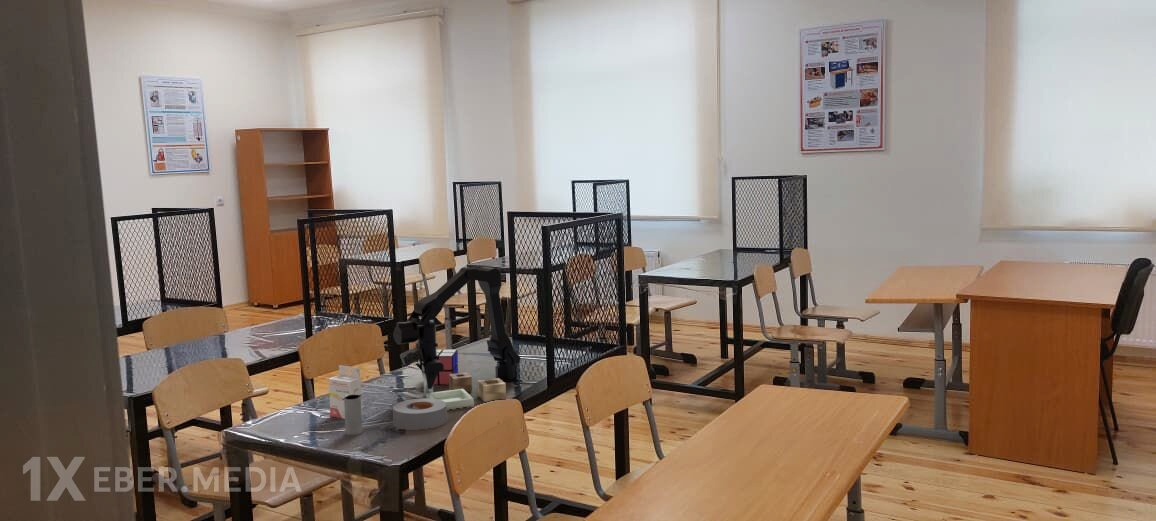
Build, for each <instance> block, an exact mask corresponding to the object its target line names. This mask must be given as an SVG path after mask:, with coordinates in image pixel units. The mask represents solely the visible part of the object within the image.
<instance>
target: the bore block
mask: <svg viewBox="0 0 1156 521" xmlns="http://www.w3.org/2000/svg"><path fill="white" fill-rule="evenodd" d="M506 383H507V382H503V381H502V380H501V379H499V378H496V377H495V378H491V379H481V380H477V391H478V392H477V393H478V394H477V397H479V399H481V400H482V401H483V402H491V401H490V400H494V401H497V400H496V399H502V400H506V399H507V389H506V388H507V386H506V385H507V384H506Z"/></svg>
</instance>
